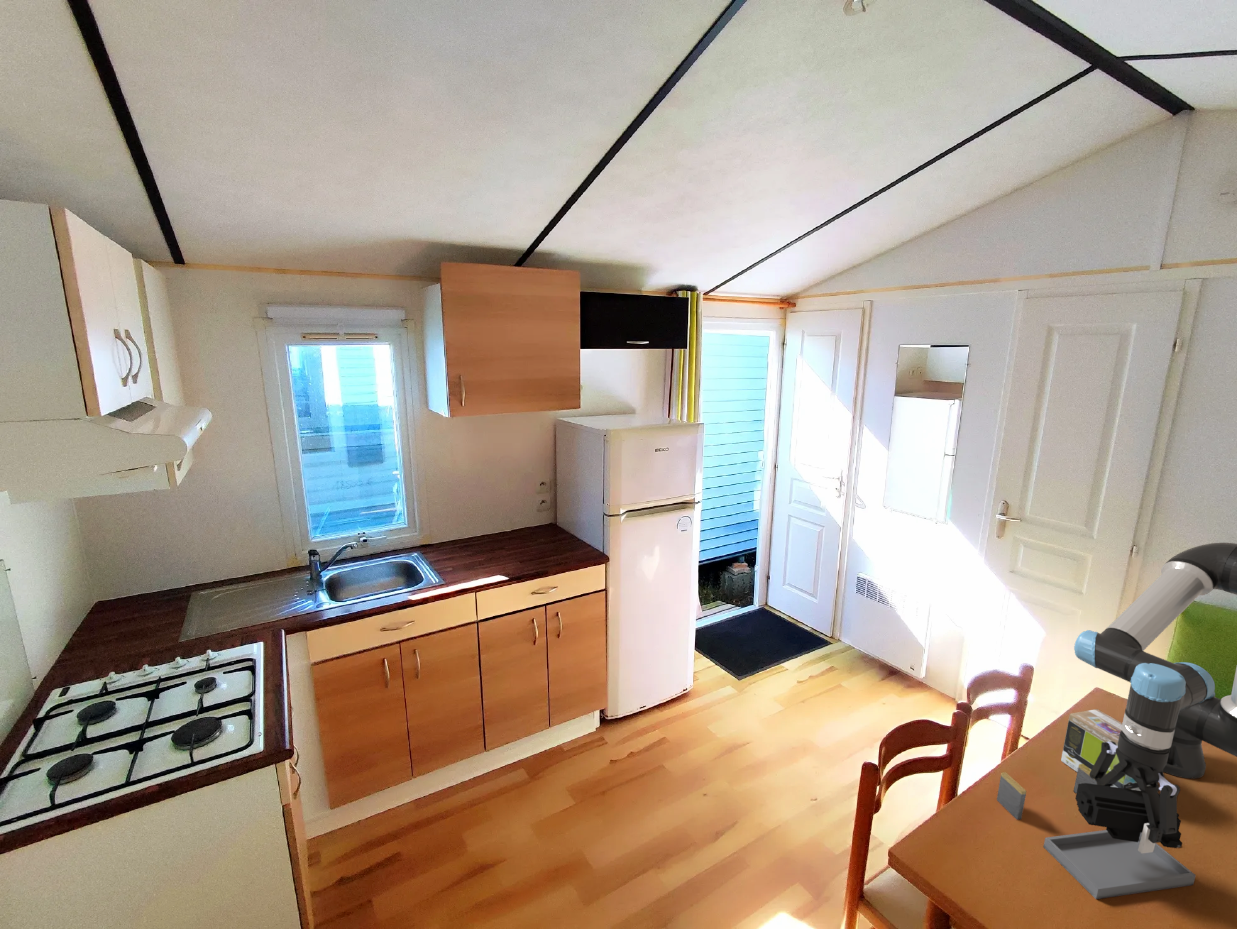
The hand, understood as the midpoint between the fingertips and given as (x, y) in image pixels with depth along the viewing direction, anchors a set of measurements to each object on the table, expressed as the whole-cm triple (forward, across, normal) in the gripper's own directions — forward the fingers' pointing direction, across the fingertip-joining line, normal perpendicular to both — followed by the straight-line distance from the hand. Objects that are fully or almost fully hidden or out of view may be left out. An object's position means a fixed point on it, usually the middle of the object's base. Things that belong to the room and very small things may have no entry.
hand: (1123, 832), depth 119 cm
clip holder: (+8, -16, 0) cm, 19 cm away
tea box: (+9, -22, +22) cm, 33 cm away
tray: (+9, 0, 0) cm, 9 cm away
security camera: (+1, 0, +1) cm, 1 cm away
